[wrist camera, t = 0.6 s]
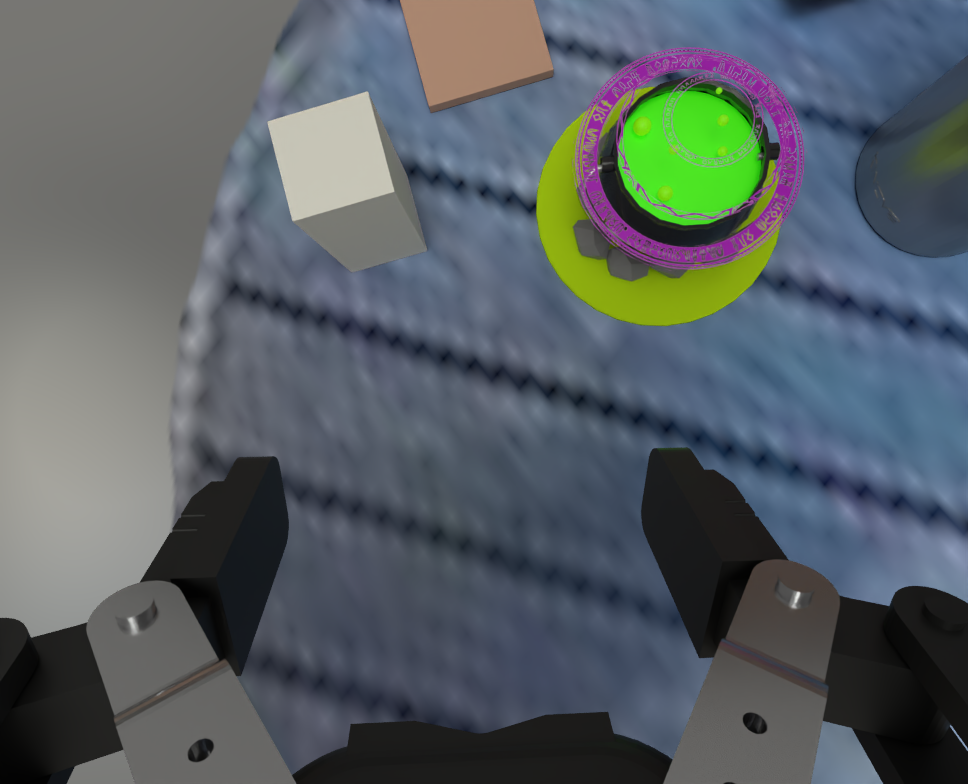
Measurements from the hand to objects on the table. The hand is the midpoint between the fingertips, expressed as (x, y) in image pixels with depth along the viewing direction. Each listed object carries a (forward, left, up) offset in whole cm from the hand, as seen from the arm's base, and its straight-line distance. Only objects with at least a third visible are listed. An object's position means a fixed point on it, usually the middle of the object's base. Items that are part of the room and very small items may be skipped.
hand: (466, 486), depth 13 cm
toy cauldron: (-13, -12, -25) cm, 30 cm away
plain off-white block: (+4, -15, -24) cm, 29 cm away
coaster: (-5, -25, -24) cm, 35 cm away
